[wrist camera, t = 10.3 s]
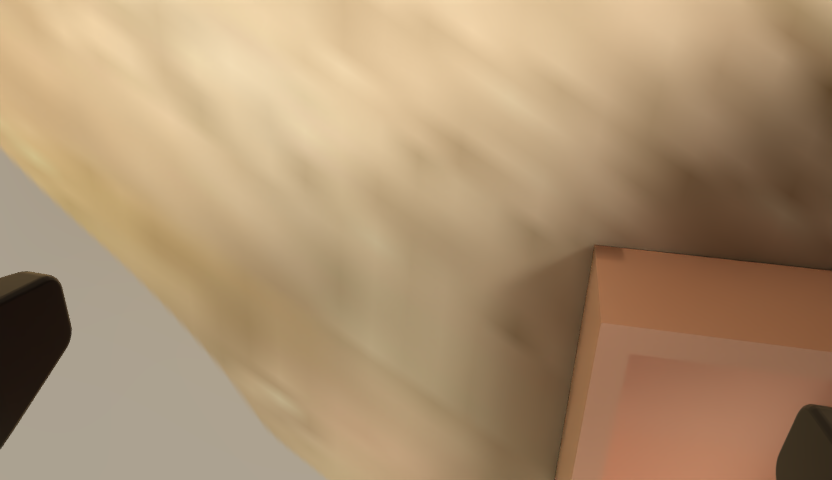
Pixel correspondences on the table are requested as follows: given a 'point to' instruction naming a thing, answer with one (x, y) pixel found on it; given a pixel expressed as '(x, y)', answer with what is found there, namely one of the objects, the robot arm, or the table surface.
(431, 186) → the table surface
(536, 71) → the table surface
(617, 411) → the bin
